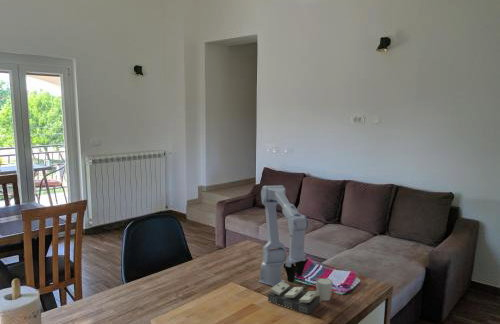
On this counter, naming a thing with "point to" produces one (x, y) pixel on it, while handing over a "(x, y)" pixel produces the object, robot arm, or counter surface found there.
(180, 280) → the counter surface
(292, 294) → the filing cabinet drawer
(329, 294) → the shot glass
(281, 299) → the filing cabinet
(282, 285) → the pale rectangular block
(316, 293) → the cabinet drawer
